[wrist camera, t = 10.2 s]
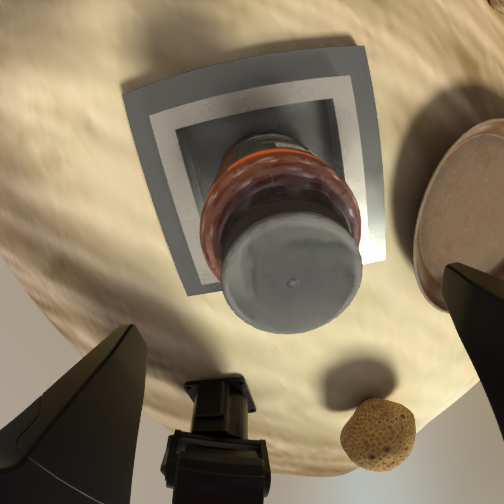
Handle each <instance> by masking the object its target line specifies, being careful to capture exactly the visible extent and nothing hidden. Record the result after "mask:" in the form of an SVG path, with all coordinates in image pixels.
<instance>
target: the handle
mask: <svg viewBox="0 0 504 504" xmlns="http://www.w3.org/2000/svg"><path fill="white" fill-rule="evenodd" d="M489 1H490V3H491V6H492V7H493V8H494V9H497V10H499V11H500V12H501V13H502V14H503V15H504V0H489Z"/></svg>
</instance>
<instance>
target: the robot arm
mask: <svg viewBox="0 0 504 504" xmlns="http://www.w3.org/2000/svg"><path fill="white" fill-rule="evenodd" d="M441 294H442V297H443V300H444V302H445V304H446V306H447V309H448V311H449V313H450V316H451V318H452V320H453V323H454V325H455V328H456V330H457V332H458V335H459V337H460V339H461V341H462V343H463V345H464V347H465V349H466V351H467V353H468V355H469V357H470V359H471V361H472V364H473V366H474V368H475V370H476V372H477V374H478V376H479V379H480V381H481V383H482V385H483V388H484V390H485V392H486V395H487V397H488V400H489V402H490V405H491V407H492V410H493V412H494V414H495V418H496V420H497V423H498V426H499V429H500V432H501V434H502V437H503V440H504V280H502V279H500V278H497V277H495V276H492V275H490V274H487V273H485V272H482V271H480V270H477V269H475V268H472V267H470V266H467V265H464V264H462V263H459V262H454V263H450V264H447V265H446V266H445V268H444V272H443V279H442V285H441ZM147 353H148V349H147V345H146V342H145V340H144V339H143V337H142V335H141V333H140V332H139V330H138V328H137V327H136V325H134V324H123V325H121V326H119V327H118V328H117V329H116V330H115V331H113V332H112V333H111V334H110V335H109V336H108V337H106V338H105V339H104V340H103V341H102V342H101V343H100V344H98V345H97V346H96V347H95V348H94V349H93V350H91V351H90V352H89V353H88V354H87V355H86V356H85V357H83V358H82V359H81V360H80V361H79V362H78V363H77V364H75V365H74V366H73V367H72V368H71V369H70V370H69V371H68V372H66V374H64V375H63V376H62V377H61V378H60V379H59V380H57V381H56V382H55V383H54V384H53V385H52V386H51V387H50V388H49V389H48V390H46V391H45V392H44V393H43V394H42V396H40V397H39V398H38V399H36V400H35V401H34V402H33V403H32V404H31V405H30V406H29V407H28V408H26V409H25V410H24V411H23V412H22V413H21V414H19V415H18V416H17V417H16V418H15V419H14V420H12V421H11V422H10V423H8V424H7V425H6V426H5V427H3V428H2V429H1V430H0V504H130V495H131V484H132V476H133V467H134V459H135V450H136V443H137V436H138V429H139V423H140V416H141V411H142V405H143V398H144V390H145V376H146V364H147ZM184 388H185V390H186V392H187V393H188V395H189V396H190V398H191V399H192V401H193V402H194V408H193V415H192V422H191V429H190V433H189V432H183V431H181V430H177V429H175V433H174V434H173V435H170V436H169V437H168V442H167V448H166V452H165V455H164V458H163V461H162V464H161V469H160V470H161V472H162V474H163V475H164V476H165V481H166V487H167V488H172V489H173V498H172V504H263V501H264V497H267V496H268V493H269V489H270V483H271V471H270V465H269V459H268V453H267V447H266V441H265V440H248V413H252V412H256V406H255V403H254V401H253V398H252V396H251V393H250V391H249V388H248V386H247V383H246V381H245V379H244V378H231V379H221V380H210V381H197V382H186V383H185V384H184Z"/></svg>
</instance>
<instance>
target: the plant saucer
mask: <svg viewBox="0 0 504 504" xmlns="http://www.w3.org/2000/svg"><path fill="white" fill-rule="evenodd" d="M454 262H459V263H462V264H464V265H467V266H470V267H472V268H475V269H477V270H480V271H482V272H485V273H487V274H490V275H492V276H495V277H497V278H500V279H502V280H504V118H494V119H489V120H486V121H483V122H481V123H479V124H477V125H475V126H474V127H472V128H470V129H469V130H468V131H466V132H465V133H464V134H463V135H461V136H460V137H459V138H458V139H457V140H456V141H455V142H454V143H453V144H452V145H451V147H450V148H449V149H448V150H447V151H446V153H445V154H444V155H443V157H442V158H441V160H440V161H439V163H438V164H437V166H436V168H435V170H434V171H433V173H432V175H431V177H430V179H429V181H428V183H427V186H426V188H425V191H424V194H423V197H422V200H421V203H420V206H419V210H418V214H417V219H416V224H415V231H414V241H413V263H414V271H415V276H416V280H417V283H418V286H419V288H420V290H421V292H422V294H423V296H424V297H425V299H426V300H427V301H428V302H429V303H430V304H431V305H432V306H433V307H435V308H436V309H438V310H440V311H442V312H445V313H448V314H450V313H449V311H448V309H447V306H446V304H445V302H444V300H443V297H442V294H441V285H442V279H443V272H444V268H445V266H446V265H447V264H450V263H454Z"/></svg>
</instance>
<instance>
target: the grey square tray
mask: <svg viewBox="0 0 504 504" xmlns="http://www.w3.org/2000/svg"><path fill="white" fill-rule="evenodd" d="M122 96H123V100H124V104H125V108H126V112H127V116H128V120H129V123H130V127H131V131H132V134H133V138H134V141H135V145H136V148H137V152H138V155H139V159H140V162H141V165H142V169H143V172H144V175H145V178H146V182H147V185H148V188H149V191H150V194H151V197H152V200H153V203H154V206H155V209H156V212H157V215H158V218H159V221H160V224H161V227H162V230H163V232H164V235H165V238H166V241H167V244H168V246H169V249H170V252H171V254H172V257H173V260H174V262H175V265H176V268H177V270H178V273H179V276H180V278H181V281H182V283H183V286H184V288H185V291H186V293H187V296H193V295H199V294H205V293H211V292H217V291H222V287H221V283H220V282H219V281H218V279H217V278H216V277H215V276H214V274H213V273H212V271H211V270H210V268H209V266H208V265H207V263H206V260H205V258H204V255H203V252H202V248H201V243H200V235H199V233H200V218H201V213H202V209H203V206H204V203H205V200H206V198H207V195H208V192H209V190H210V187H211V185H212V183H213V180H214V177H215V175H216V173H217V170H218V168H219V166H220V163H221V161H222V159H223V157H224V156H225V154H226V153H227V152H228V150H229V149H230V148H231V147H232V146H233V145H234V144H235V143H237V142H238V141H239V140H241V139H243V138H244V137H246V136H248V135H251V134H254V133H259V132H276V133H281V134H284V135H287V136H289V137H292V138H293V139H295V140H297V141H298V142H300V143H301V144H302V145H304V146H305V147H306V148H308V149H309V150H310V151H312V152H313V153H314V154H315V155H317V156H318V157H319V158H321V159H322V160H323V161H324V162H326V163H327V164H328V165H329V166H330V167H331V168H333V169H334V170H335V171H336V172H337V173H338V174H339V175H340V176H341V177H342V178H343V179H344V181H345V182H346V183H347V185H348V186H349V188H350V189H351V191H352V192H353V194H354V197H355V198H356V200H357V203H358V207H359V209H360V213H361V220H362V235H361V241H360V246H359V250H360V253H361V256H362V264H366V263H371V262H375V261H380V260H385V198H384V180H383V166H382V155H381V144H380V135H379V127H378V119H377V112H376V105H375V99H374V93H373V87H372V81H371V76H370V71H369V66H368V61H367V56H366V51H365V47H364V46H338V47H323V48H311V49H301V50H293V51H285V52H278V53H271V54H265V55H259V56H254V57H248V58H243V59H238V60H234V61H229V62H225V63H220V64H216V65H212V66H208V67H204V68H201V69H197V70H193V71H190V72H186V73H183V74H180V75H176V76H173V77H170V78H167V79H164V80H161V81H158V82H155V83H152V84H149V85H146V86H144V87H141V88H138V89H136V90H133V91H130V92H128V93H125V94H123V95H122Z"/></svg>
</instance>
